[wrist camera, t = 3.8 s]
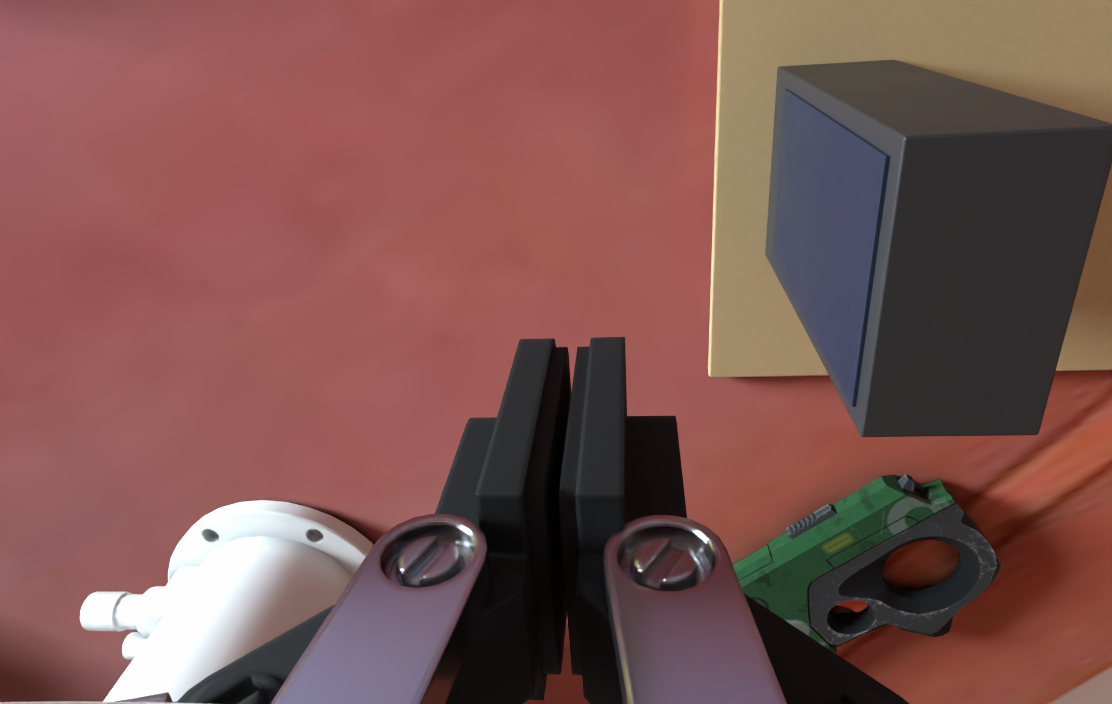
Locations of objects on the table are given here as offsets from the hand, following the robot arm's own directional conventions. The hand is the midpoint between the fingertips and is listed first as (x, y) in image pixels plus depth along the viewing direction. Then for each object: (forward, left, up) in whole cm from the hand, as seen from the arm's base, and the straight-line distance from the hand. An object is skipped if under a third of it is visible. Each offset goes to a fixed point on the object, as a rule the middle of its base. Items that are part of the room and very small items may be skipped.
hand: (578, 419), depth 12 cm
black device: (+8, 0, -18) cm, 20 cm away
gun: (+10, -22, -19) cm, 31 cm away
